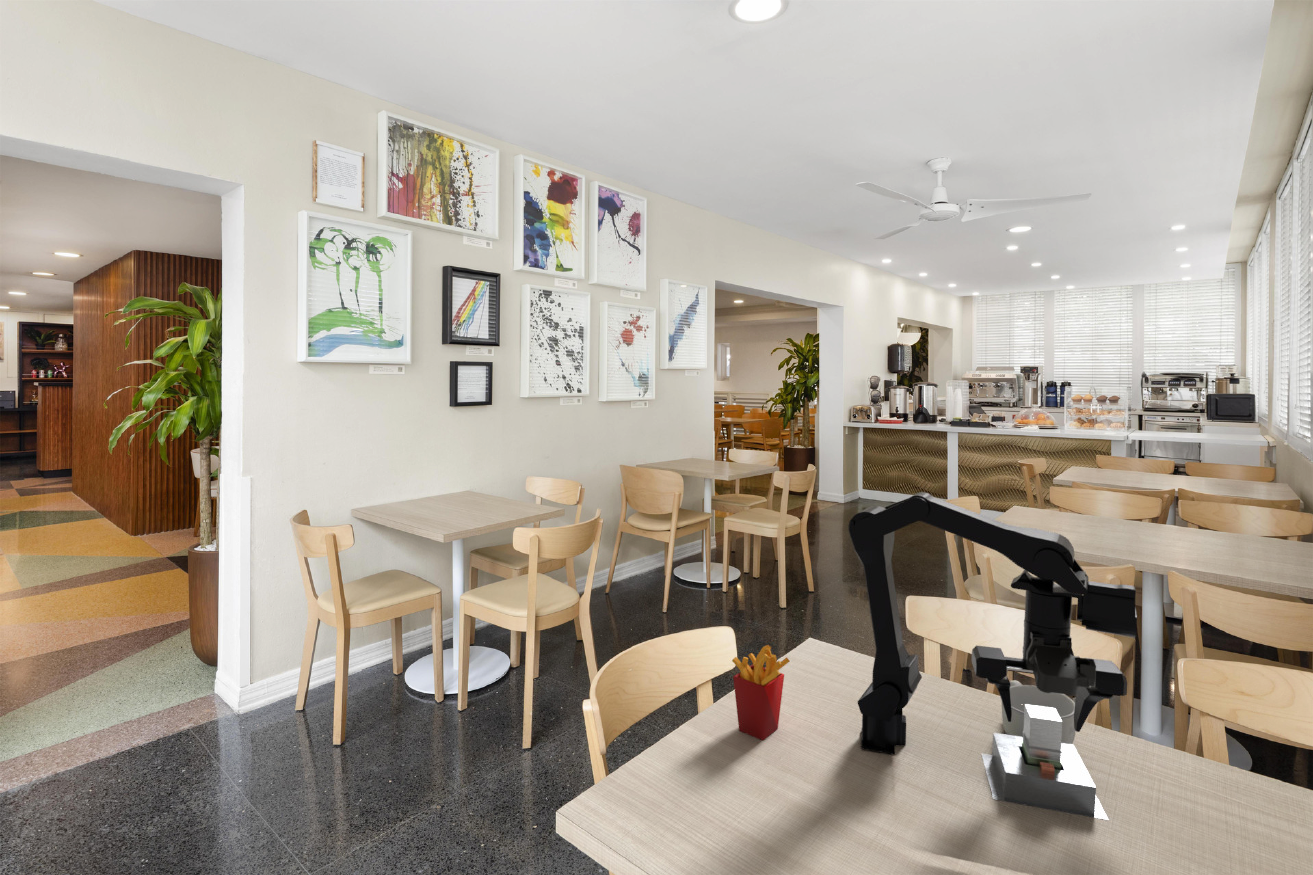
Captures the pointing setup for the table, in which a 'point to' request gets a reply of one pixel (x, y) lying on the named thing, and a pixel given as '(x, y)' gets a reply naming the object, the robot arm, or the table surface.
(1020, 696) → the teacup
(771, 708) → the french fries
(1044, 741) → the column
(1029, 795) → the housing
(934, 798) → the table surface
